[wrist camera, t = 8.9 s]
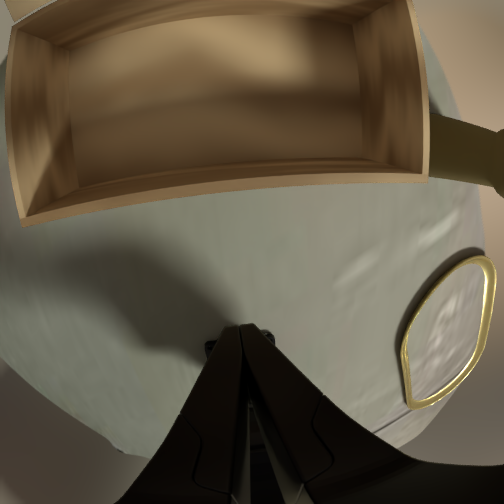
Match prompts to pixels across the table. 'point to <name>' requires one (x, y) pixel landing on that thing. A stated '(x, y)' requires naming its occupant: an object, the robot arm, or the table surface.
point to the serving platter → (484, 327)
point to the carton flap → (23, 7)
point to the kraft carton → (210, 100)
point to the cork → (466, 152)
